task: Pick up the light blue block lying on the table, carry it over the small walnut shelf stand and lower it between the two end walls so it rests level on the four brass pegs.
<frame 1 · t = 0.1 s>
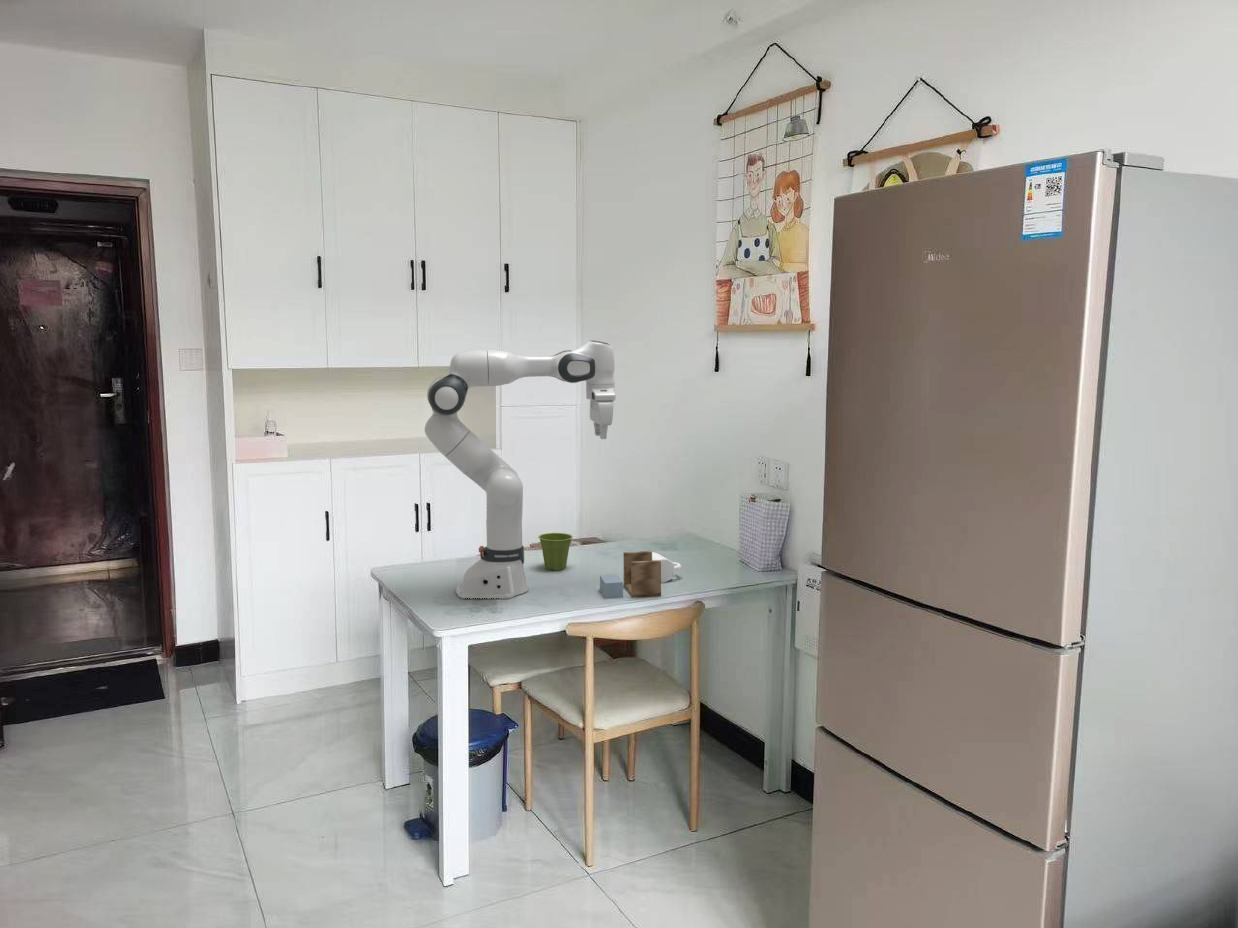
hand: (600, 437, 284), 48 cm above the table, tool pointing down, fingers open, 8 cm apart
plant pot: (555, 568, 312), on the table
stand: (641, 590, 284), on the table
light blue block: (611, 594, 281), on the table
mug: (662, 579, 299), on the table
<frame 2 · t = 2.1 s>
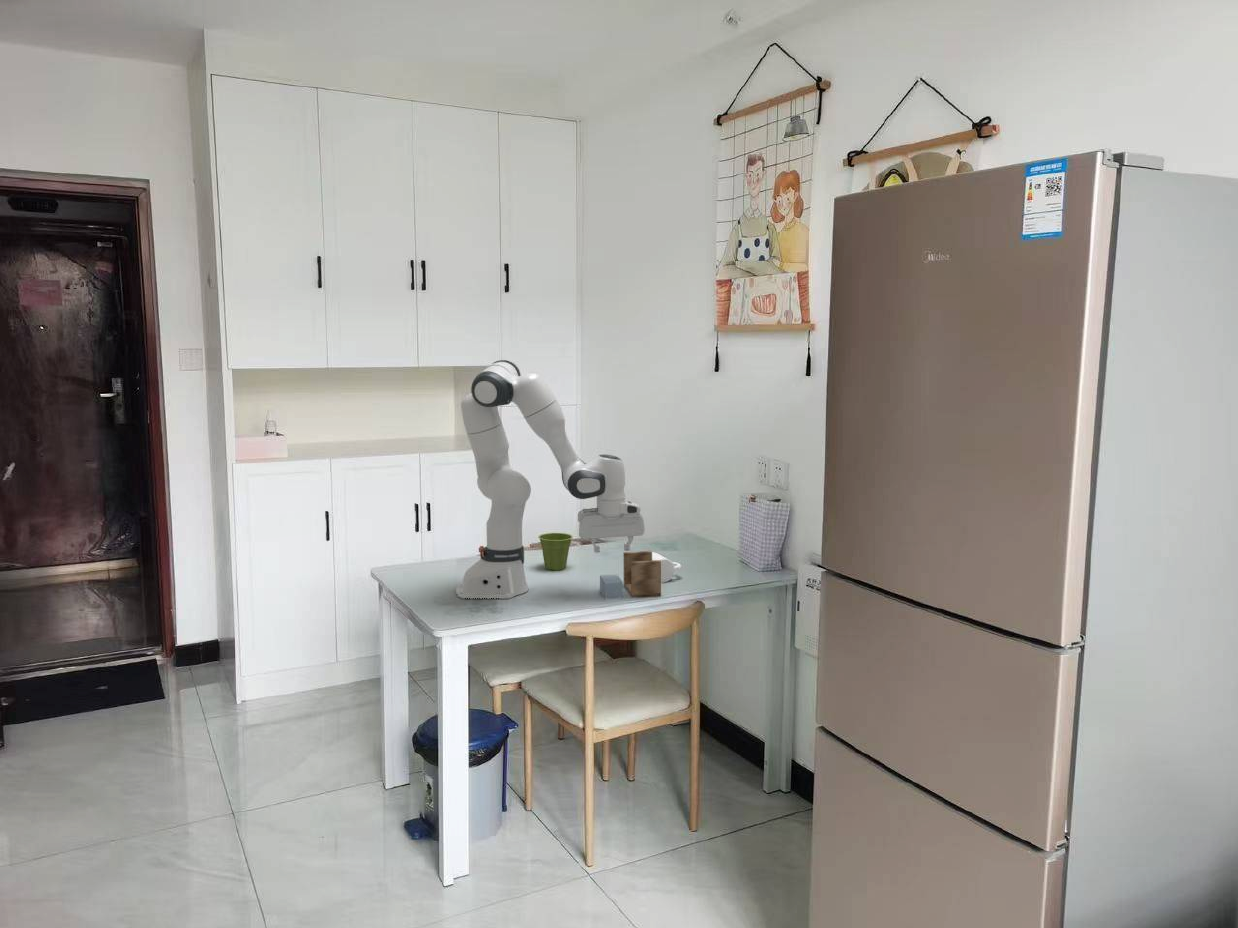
hand: (612, 551, 279), 14 cm above the table, tool pointing down, fingers open, 8 cm apart
nothing on the table moved.
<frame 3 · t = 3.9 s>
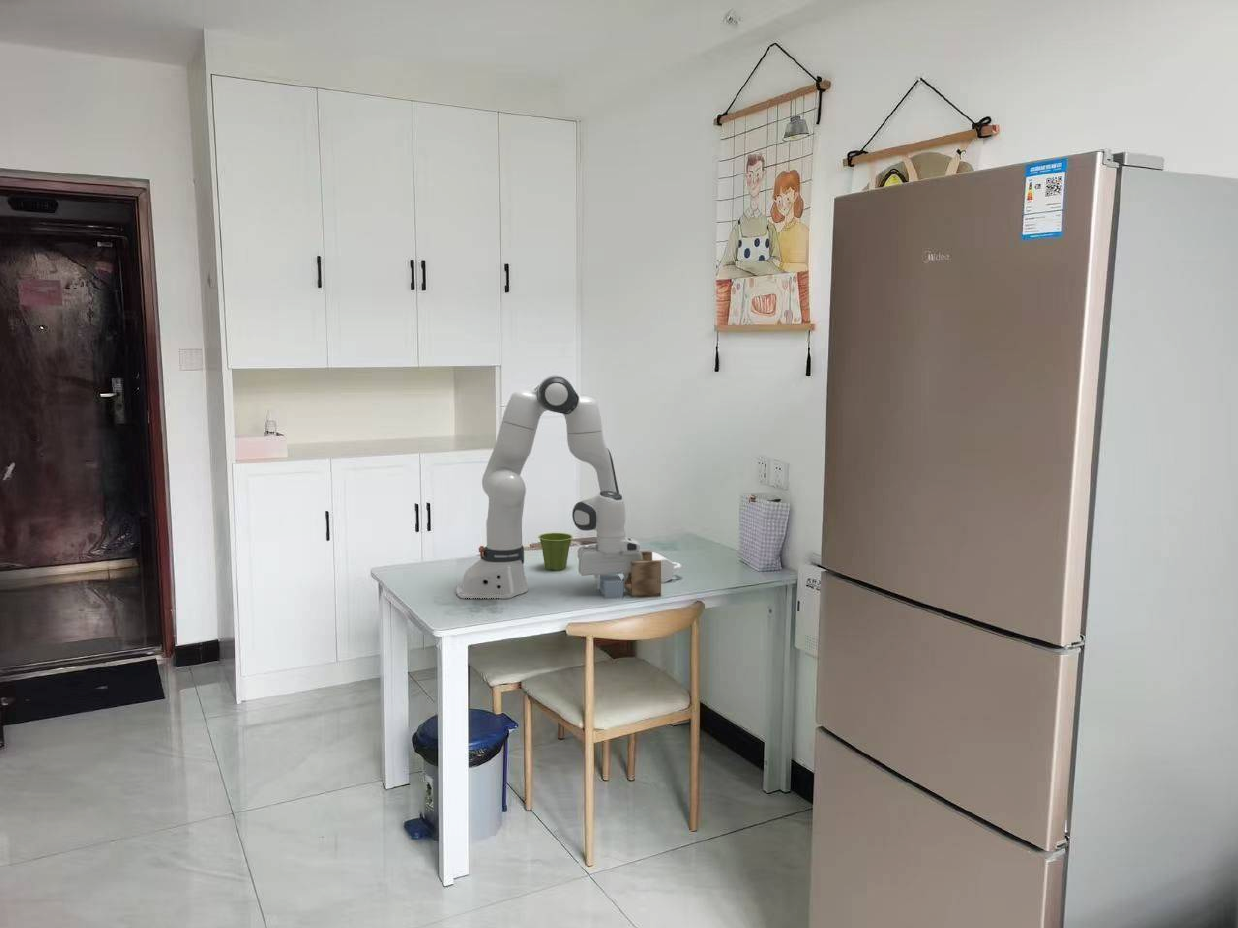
hand: (611, 587, 281), 2 cm above the table, tool pointing down, fingers closed on light blue block, 5 cm apart
light blue block: (611, 593, 281), on the table, touching gripper
everything else where it was.
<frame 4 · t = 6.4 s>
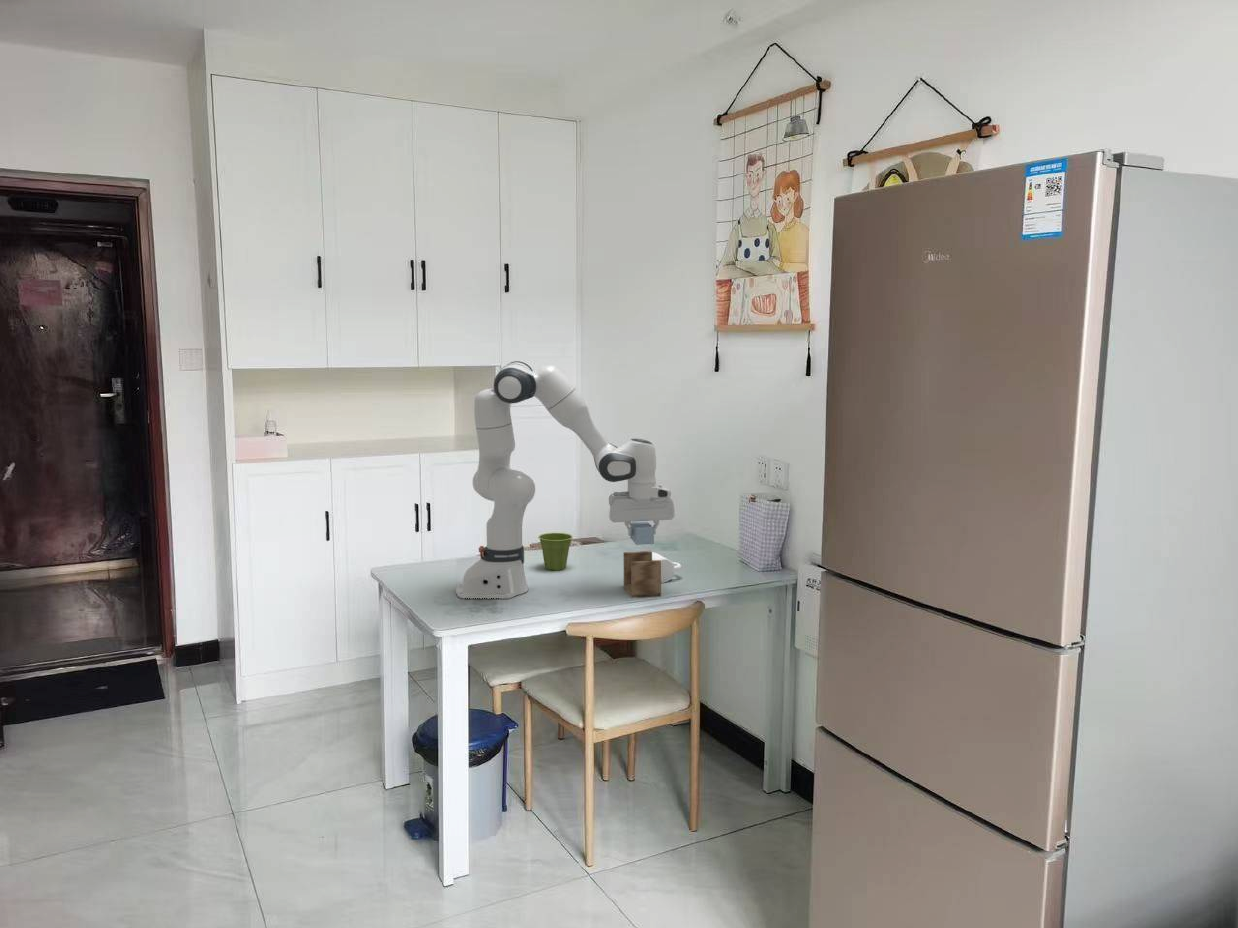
hand: (641, 534, 282), 18 cm above the table, tool pointing down, fingers closed on light blue block, 5 cm apart
light blue block: (641, 540, 282), point 16 cm above the table, touching gripper
everything else where it was.
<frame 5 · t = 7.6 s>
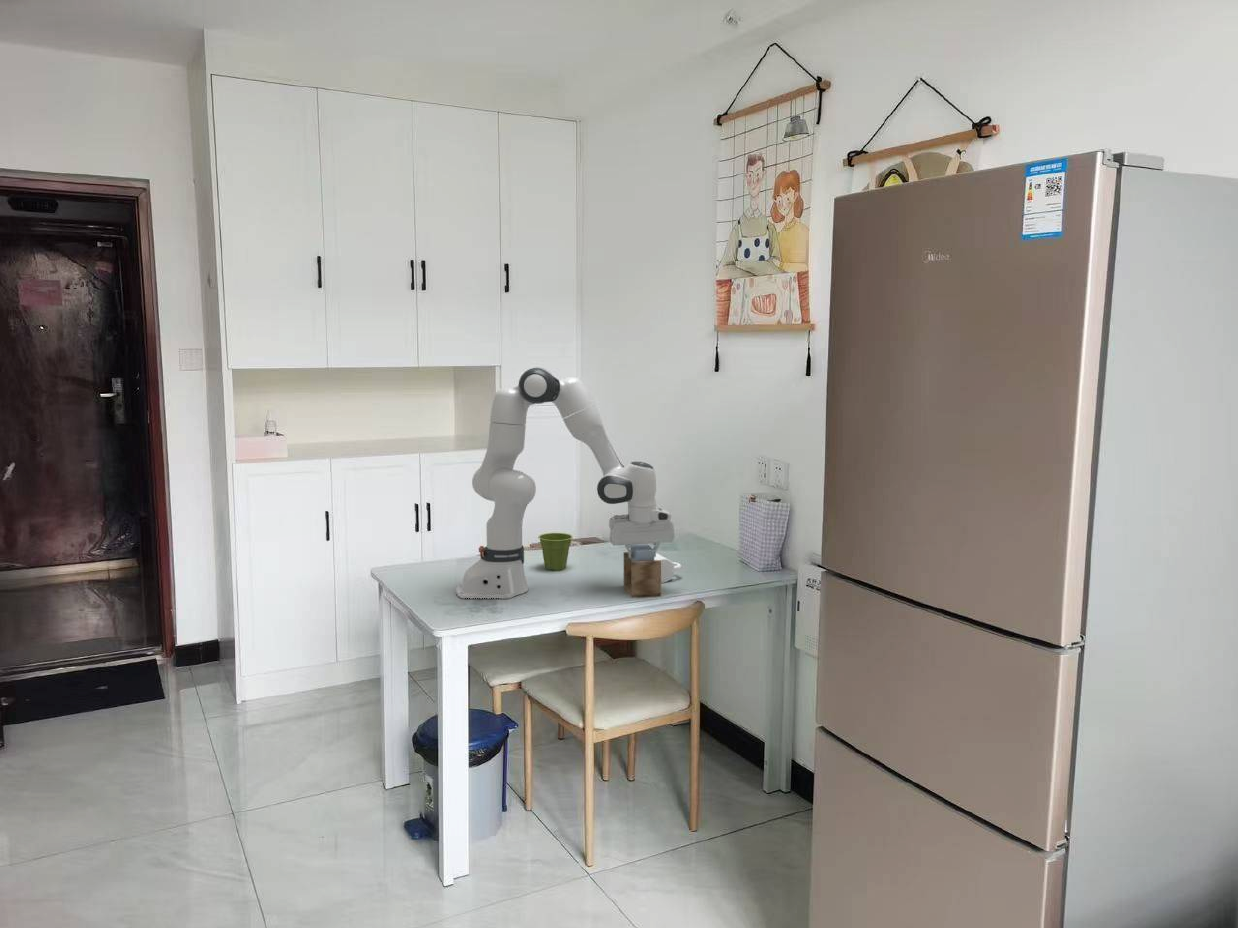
hand: (642, 557, 283), 11 cm above the table, tool pointing down, fingers closed on light blue block, 5 cm apart
light blue block: (642, 563, 283), point 9 cm above the table, touching gripper
everything else where it was.
when the fingers open (9 cm above the table, at t = 8.8 s): light blue block drops 1 cm, resting on stand.
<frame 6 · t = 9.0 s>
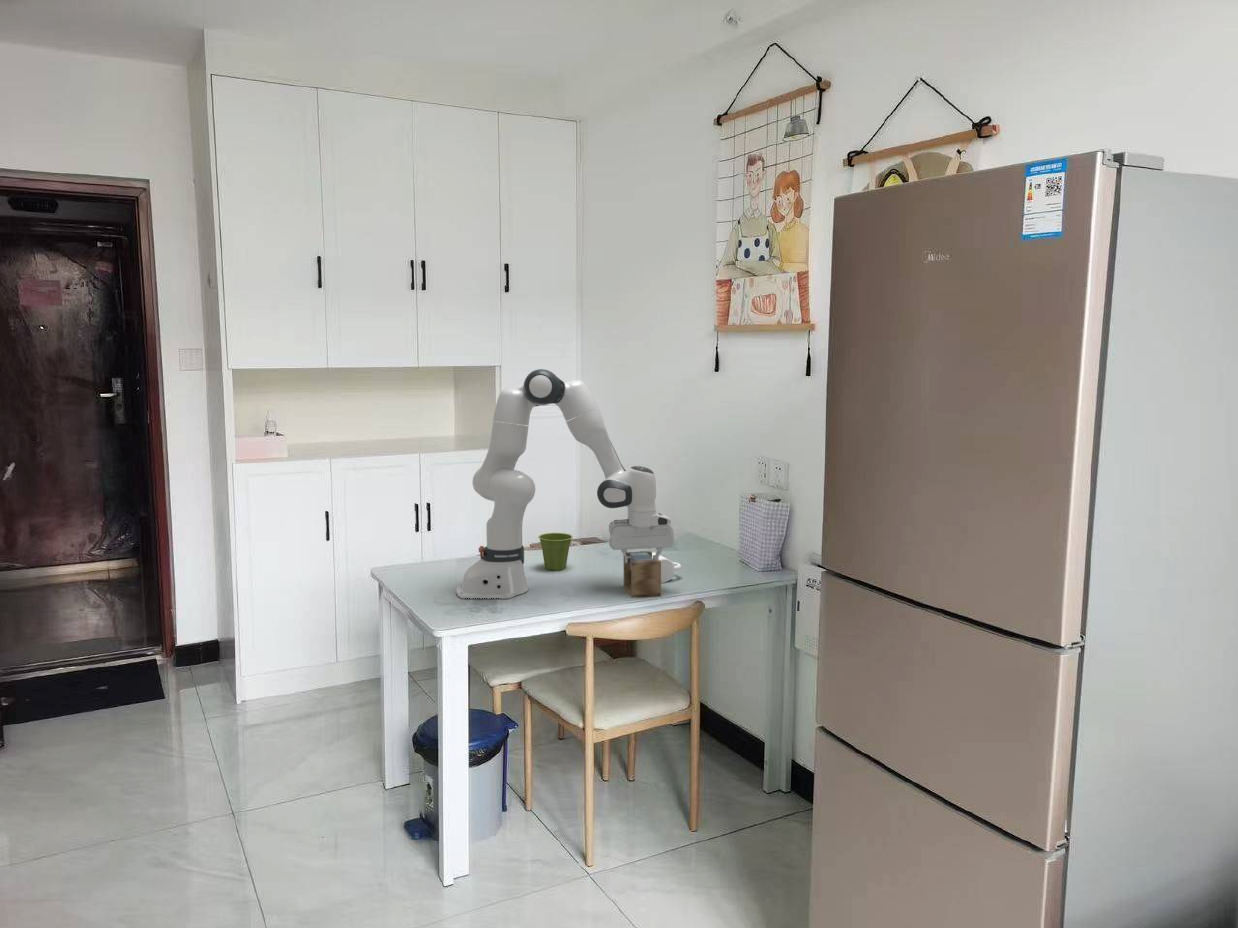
hand: (641, 562, 283), 9 cm above the table, tool pointing down, fingers open, 8 cm apart
light blue block: (641, 572, 283), point 6 cm above the table, touching stand
everything else where it was.
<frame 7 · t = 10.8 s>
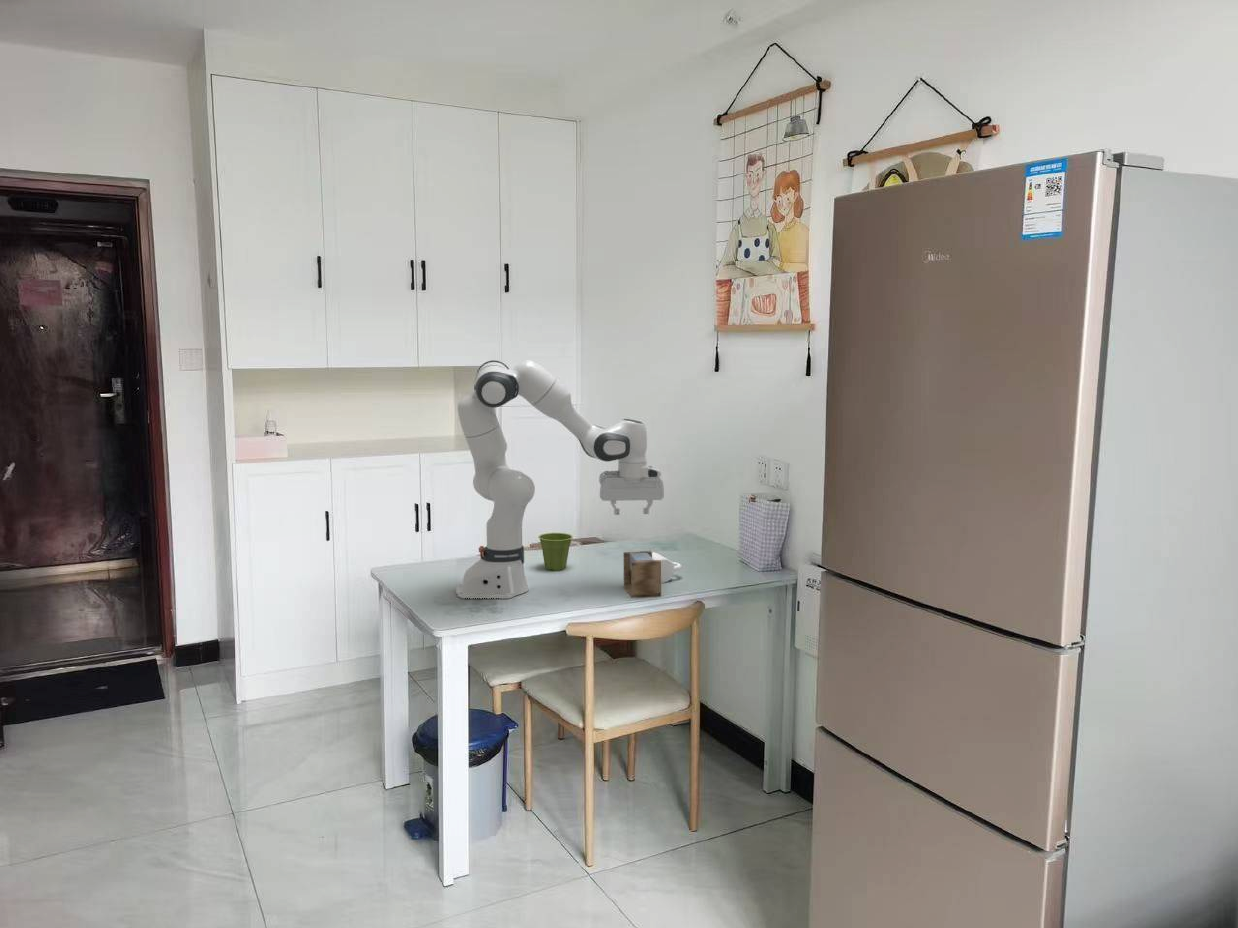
hand: (631, 514, 285), 24 cm above the table, tool pointing down, fingers open, 8 cm apart
nothing on the table moved.
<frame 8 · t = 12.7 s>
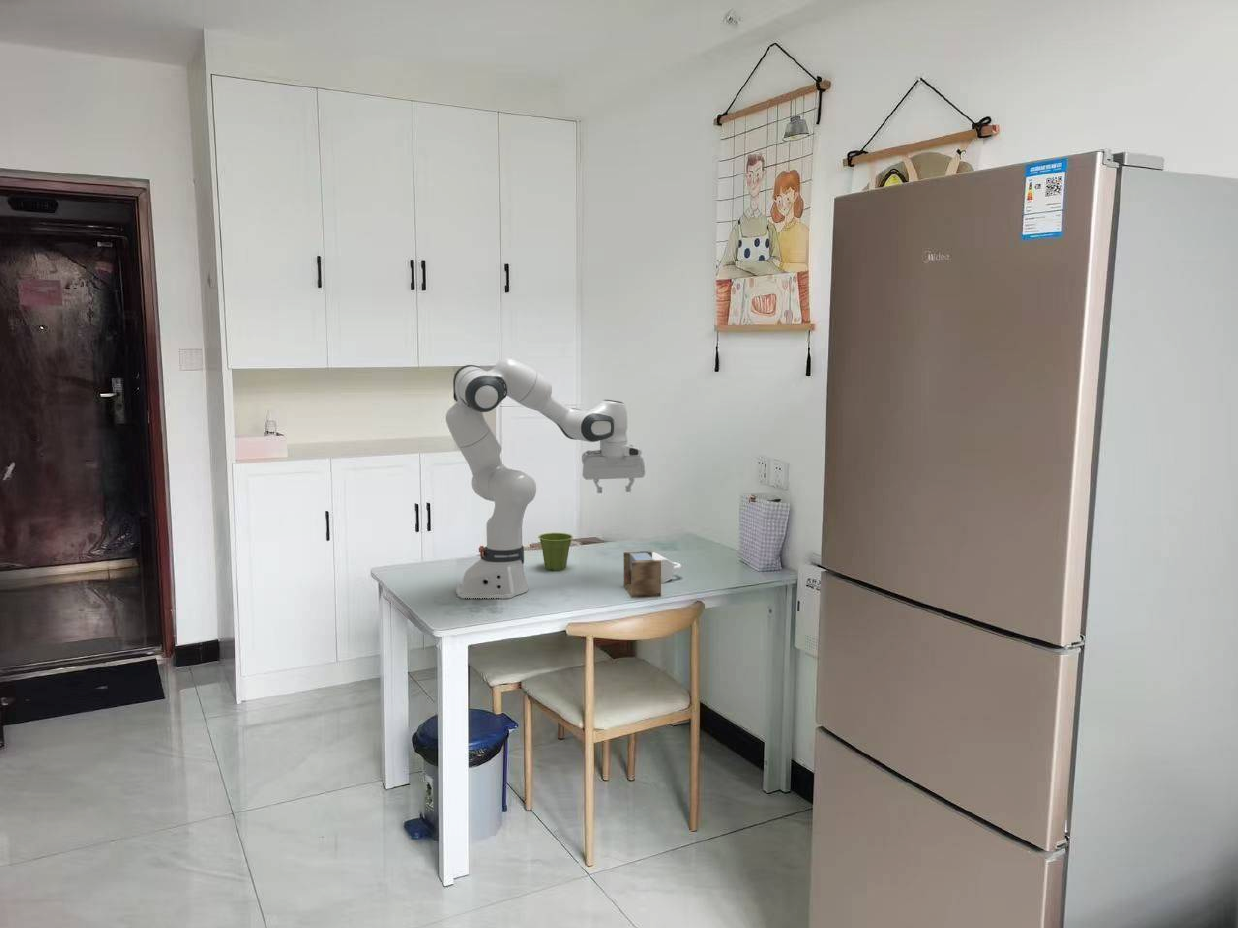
hand: (613, 492, 293), 29 cm above the table, tool pointing down, fingers open, 8 cm apart
nothing on the table moved.
at the end: light blue block 0.1 cm off-centre on the stand, point 6.0 cm above the stand's base; light blue block tilted 0°; the gripper is holding nothing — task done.
